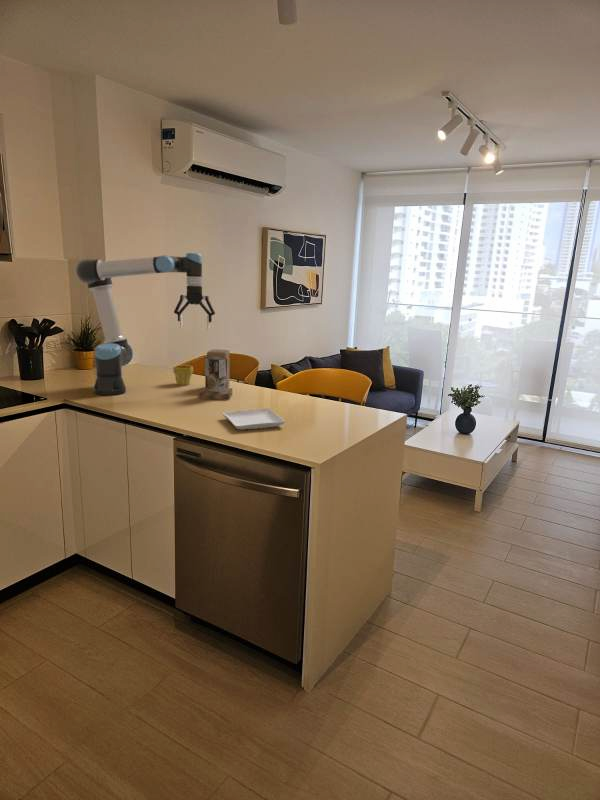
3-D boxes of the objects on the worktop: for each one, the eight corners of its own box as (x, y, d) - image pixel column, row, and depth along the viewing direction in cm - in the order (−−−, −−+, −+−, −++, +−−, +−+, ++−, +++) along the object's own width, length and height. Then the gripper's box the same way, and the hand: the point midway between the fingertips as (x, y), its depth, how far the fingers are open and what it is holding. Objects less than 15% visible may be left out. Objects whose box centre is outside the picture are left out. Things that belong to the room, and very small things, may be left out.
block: (229, 386, 288) (230, 349, 284) (225, 390, 279) (225, 352, 274) (211, 385, 289) (211, 348, 285) (206, 389, 280) (206, 351, 275)
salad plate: (235, 433, 208) (235, 425, 208) (221, 419, 227) (221, 411, 227) (286, 429, 217) (286, 420, 216) (268, 415, 236) (268, 408, 235)
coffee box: (227, 390, 265) (227, 358, 262) (219, 393, 260) (219, 360, 256) (213, 388, 270) (213, 356, 266) (204, 390, 265) (204, 357, 261)
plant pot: (197, 384, 292) (197, 366, 290) (183, 387, 284) (183, 368, 282) (183, 381, 298) (183, 364, 295) (169, 384, 289) (169, 366, 287)
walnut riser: (200, 398, 260) (200, 392, 259) (204, 393, 271) (204, 387, 271) (229, 399, 260) (229, 393, 259) (232, 394, 271) (232, 388, 271)
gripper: (167, 284, 262) (168, 328, 267) (218, 286, 262) (218, 330, 267) (170, 284, 269) (171, 326, 274) (220, 286, 270) (220, 328, 274)
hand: (194, 328), depth 271 cm, fingers open, 13 cm apart
